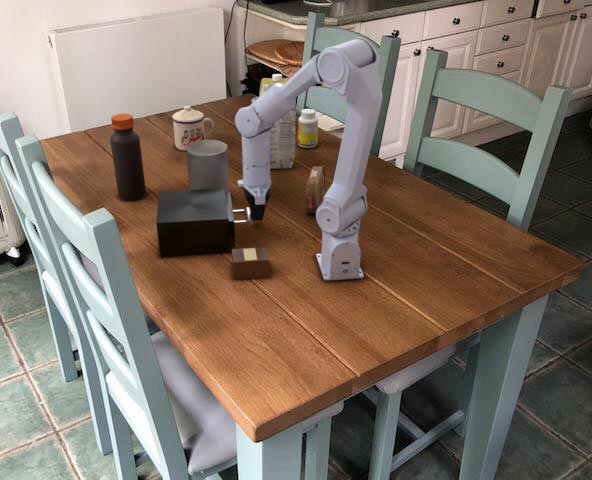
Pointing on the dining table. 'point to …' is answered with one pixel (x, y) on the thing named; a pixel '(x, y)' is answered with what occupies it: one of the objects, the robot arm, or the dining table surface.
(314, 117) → the supplement bottle
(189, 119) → the teacup with lid
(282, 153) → the juice carton
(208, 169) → the pillar candle
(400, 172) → the dining table surface
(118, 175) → the vinegar
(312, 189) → the tin
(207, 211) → the black box
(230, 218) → the drawer
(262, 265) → the packet
